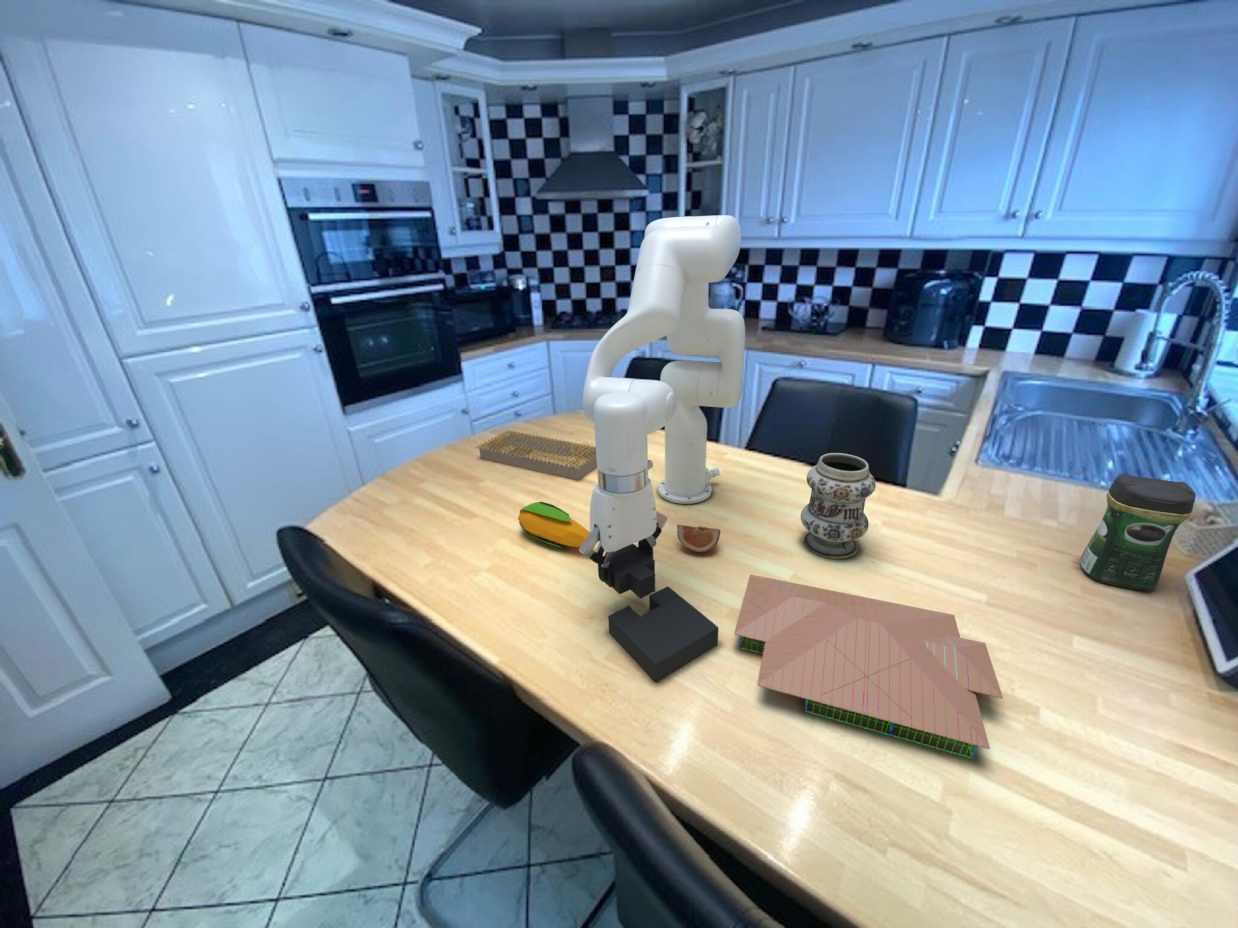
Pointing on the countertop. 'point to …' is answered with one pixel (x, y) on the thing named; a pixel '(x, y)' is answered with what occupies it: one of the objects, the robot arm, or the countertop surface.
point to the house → (869, 659)
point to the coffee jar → (1137, 531)
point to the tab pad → (633, 571)
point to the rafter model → (541, 444)
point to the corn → (551, 525)
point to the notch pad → (663, 633)
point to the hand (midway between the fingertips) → (626, 572)
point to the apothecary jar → (837, 505)
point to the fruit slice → (698, 537)
